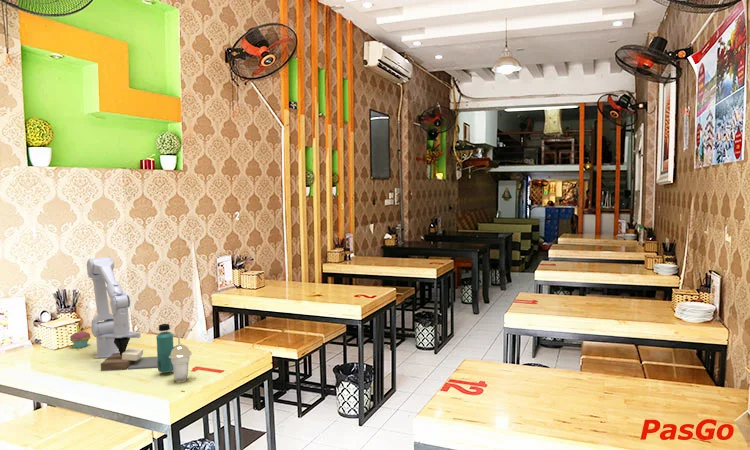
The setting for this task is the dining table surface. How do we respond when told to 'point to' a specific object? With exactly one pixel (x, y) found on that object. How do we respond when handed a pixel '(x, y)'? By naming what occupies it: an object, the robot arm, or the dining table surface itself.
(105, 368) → the board
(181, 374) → the cup with straw
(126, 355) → the tile
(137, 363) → the mat
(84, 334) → the cupcake
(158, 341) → the beverage bottle
